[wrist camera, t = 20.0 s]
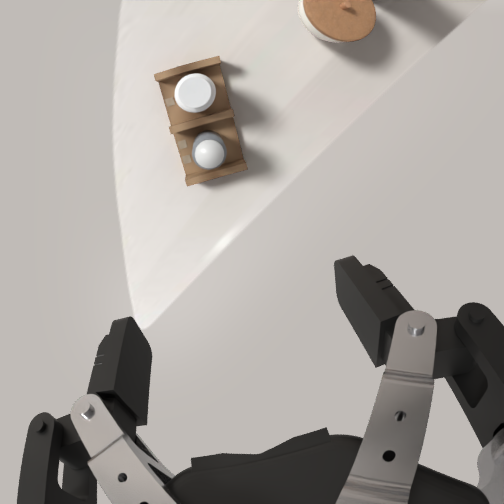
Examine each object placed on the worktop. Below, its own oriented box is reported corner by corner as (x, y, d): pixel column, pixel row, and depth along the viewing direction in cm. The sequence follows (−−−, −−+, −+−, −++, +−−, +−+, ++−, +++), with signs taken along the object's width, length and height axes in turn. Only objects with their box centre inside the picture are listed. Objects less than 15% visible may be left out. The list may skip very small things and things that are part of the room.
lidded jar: (361, 11, 36) (392, 0, 28) (337, 58, 40) (366, 54, 32) (305, -22, 32) (327, -41, 24) (277, 26, 37) (295, 12, 29)
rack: (217, 59, 38) (219, 55, 35) (244, 163, 47) (247, 169, 43) (157, 76, 38) (153, 74, 34) (188, 179, 47) (187, 186, 43)
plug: (226, 154, 45) (231, 166, 38) (197, 162, 45) (197, 175, 38) (218, 126, 42) (222, 133, 36) (189, 134, 42) (187, 143, 35)
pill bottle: (208, 114, 41) (210, 118, 34) (173, 107, 40) (167, 109, 32) (218, 80, 39) (222, 76, 31) (183, 72, 38) (178, 67, 30)
